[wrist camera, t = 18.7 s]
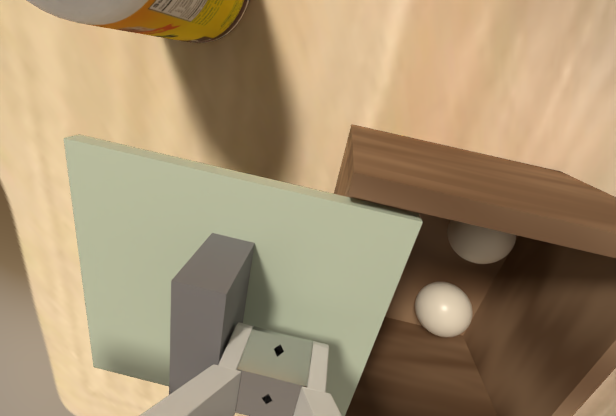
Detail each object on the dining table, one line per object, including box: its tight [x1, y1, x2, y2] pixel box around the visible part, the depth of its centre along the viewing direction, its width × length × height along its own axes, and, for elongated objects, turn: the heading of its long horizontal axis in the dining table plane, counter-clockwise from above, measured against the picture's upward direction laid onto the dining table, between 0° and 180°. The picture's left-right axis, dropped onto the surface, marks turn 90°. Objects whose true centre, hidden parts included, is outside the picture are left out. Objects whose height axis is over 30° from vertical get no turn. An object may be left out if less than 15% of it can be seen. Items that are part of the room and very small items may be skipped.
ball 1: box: [415, 282, 473, 337], centre depth 18 cm, size 3×3×3 cm
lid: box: [64, 135, 423, 416], centre depth 10 cm, size 10×11×3 cm
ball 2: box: [448, 220, 516, 264], centre depth 16 cm, size 3×3×3 cm
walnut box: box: [334, 125, 616, 416], centre depth 15 cm, size 12×11×9 cm
